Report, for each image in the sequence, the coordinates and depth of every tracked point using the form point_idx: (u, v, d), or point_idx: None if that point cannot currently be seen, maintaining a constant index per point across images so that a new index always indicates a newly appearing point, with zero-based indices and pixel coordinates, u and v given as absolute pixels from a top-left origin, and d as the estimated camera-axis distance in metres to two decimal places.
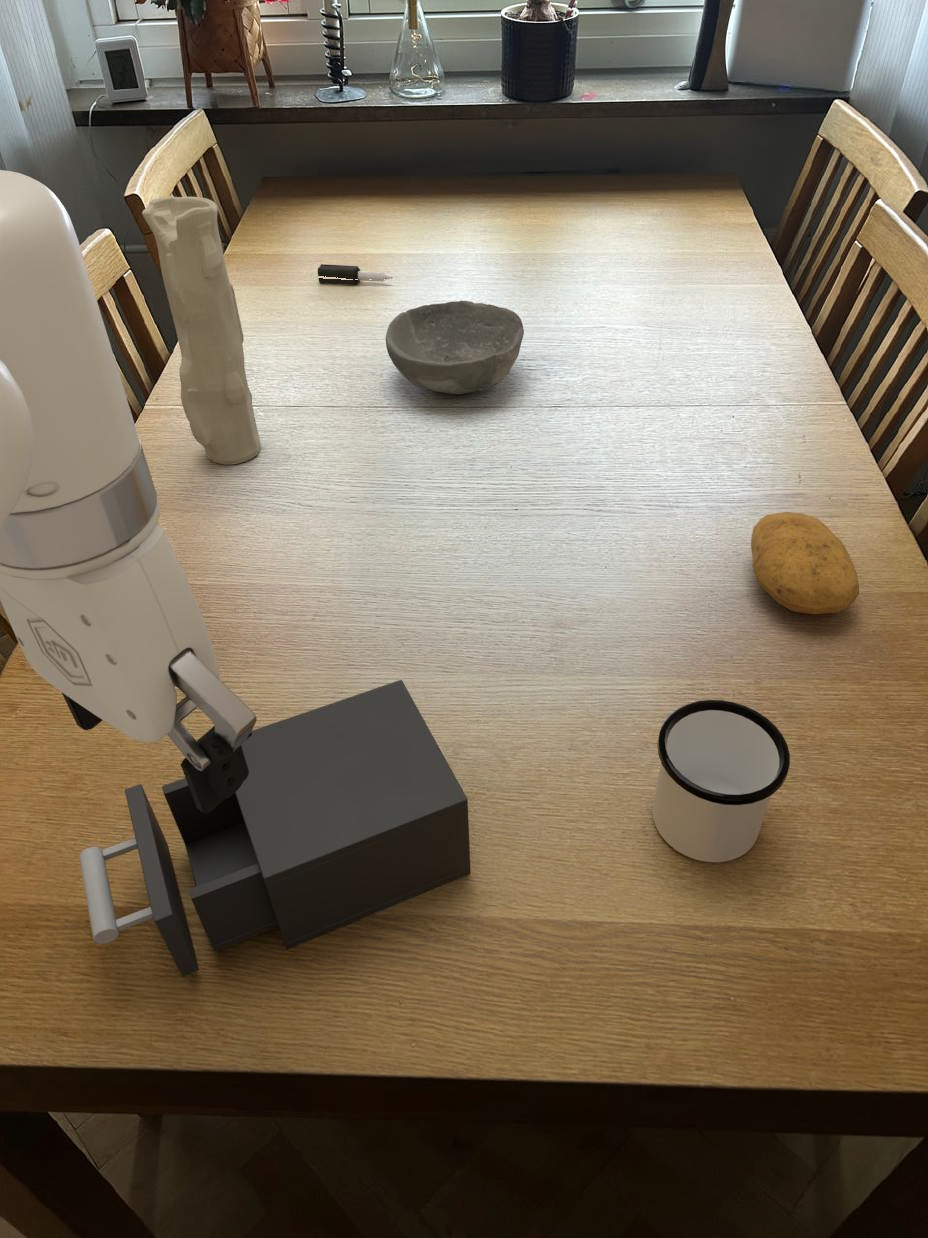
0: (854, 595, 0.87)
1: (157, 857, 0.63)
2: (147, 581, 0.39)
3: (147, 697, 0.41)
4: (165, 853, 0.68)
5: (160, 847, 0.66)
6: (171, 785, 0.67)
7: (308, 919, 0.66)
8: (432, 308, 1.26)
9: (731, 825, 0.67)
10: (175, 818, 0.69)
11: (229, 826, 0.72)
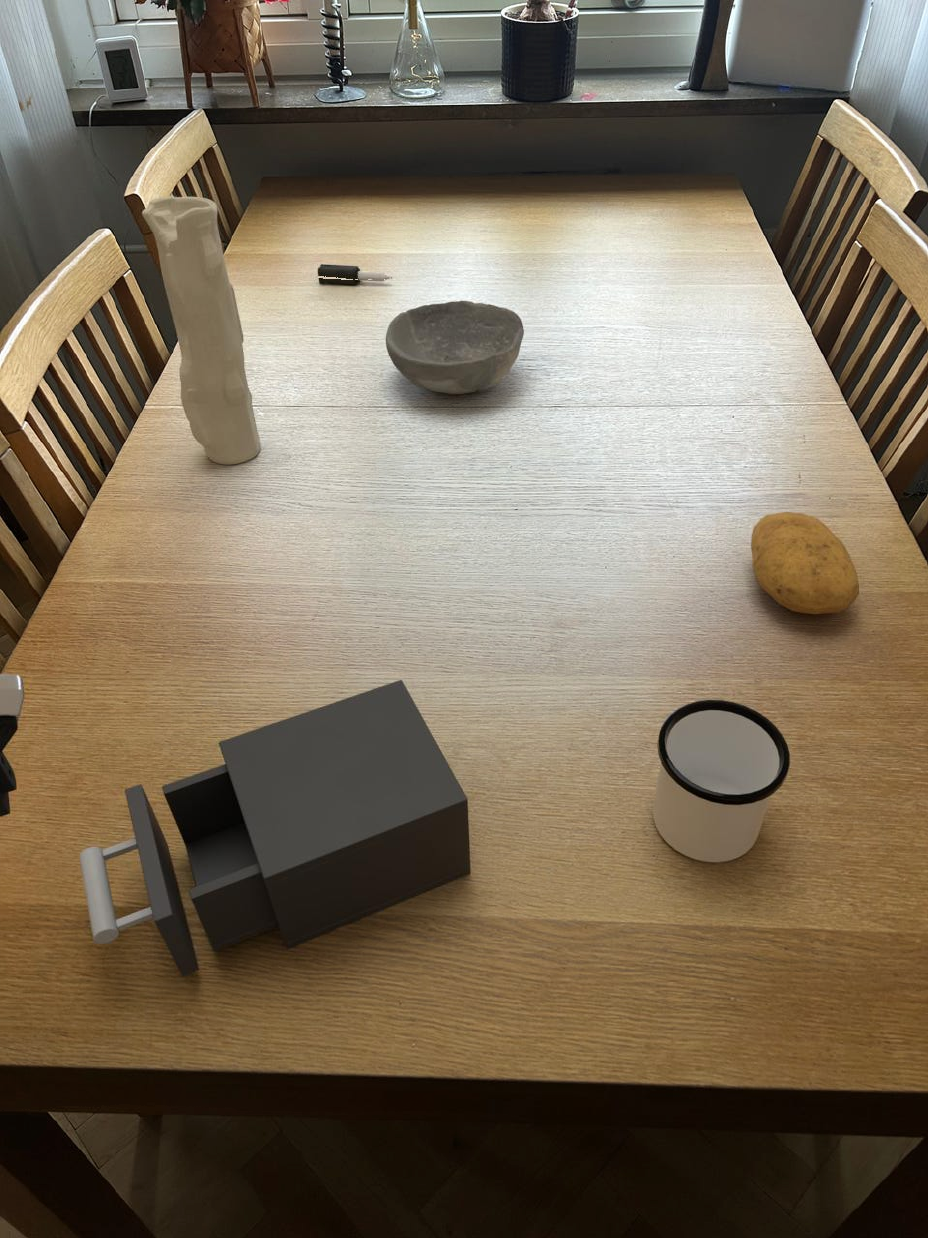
0: (854, 595, 0.87)
1: (157, 857, 0.63)
2: None
3: None
4: (165, 853, 0.68)
5: (160, 847, 0.66)
6: (171, 785, 0.67)
7: (308, 919, 0.66)
8: (432, 308, 1.26)
9: (731, 825, 0.67)
10: (175, 818, 0.69)
11: (229, 826, 0.72)
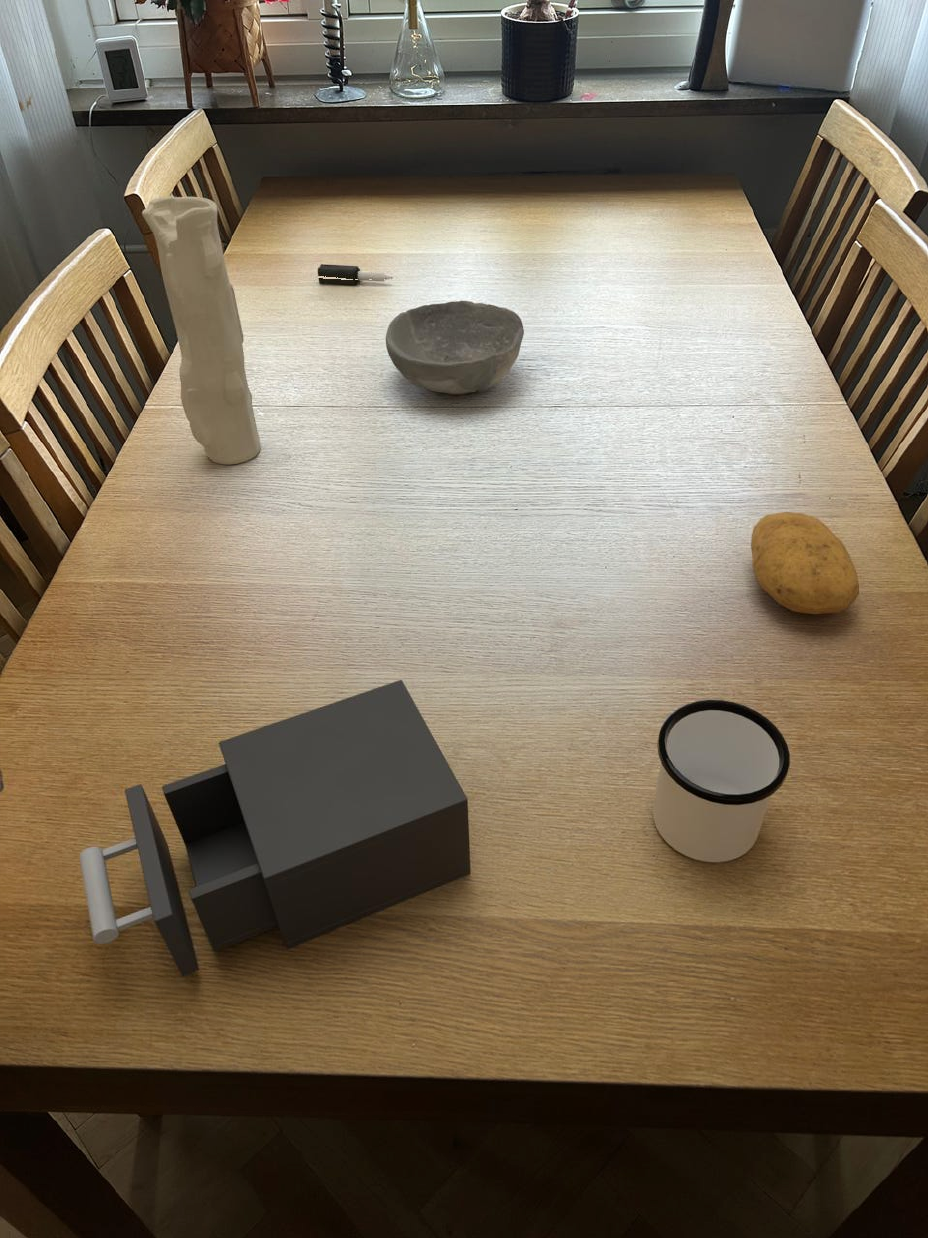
0: (854, 595, 0.87)
1: (157, 857, 0.63)
2: None
3: None
4: (165, 853, 0.68)
5: (160, 847, 0.66)
6: (171, 785, 0.67)
7: (308, 919, 0.66)
8: (432, 308, 1.26)
9: (731, 825, 0.67)
10: (175, 818, 0.69)
11: (229, 826, 0.72)
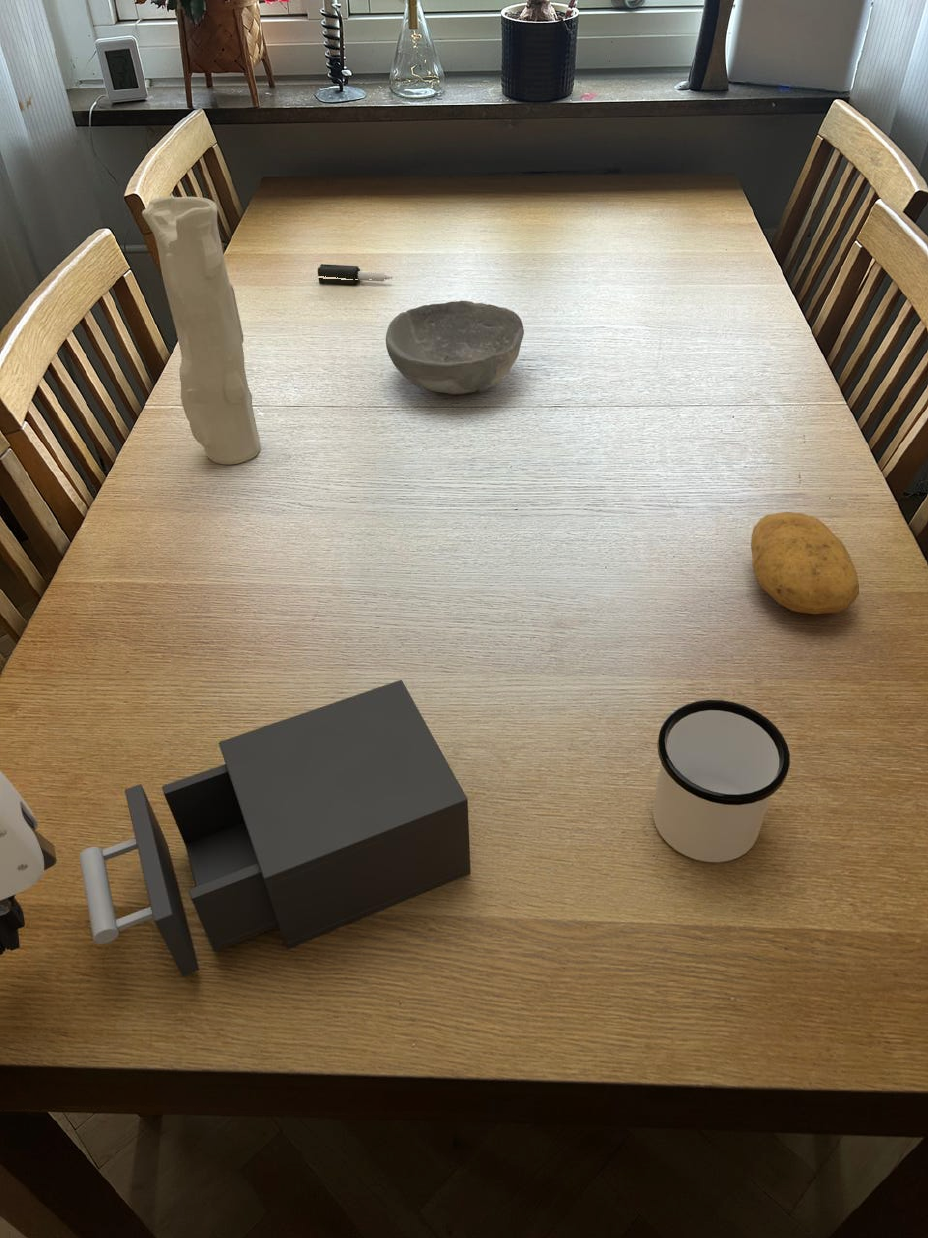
0: (854, 595, 0.87)
1: (157, 857, 0.63)
2: None
3: (29, 843, 0.56)
4: (165, 853, 0.68)
5: (160, 847, 0.66)
6: (171, 785, 0.67)
7: (308, 919, 0.66)
8: (432, 308, 1.26)
9: (731, 825, 0.67)
10: (175, 818, 0.69)
11: (229, 826, 0.72)
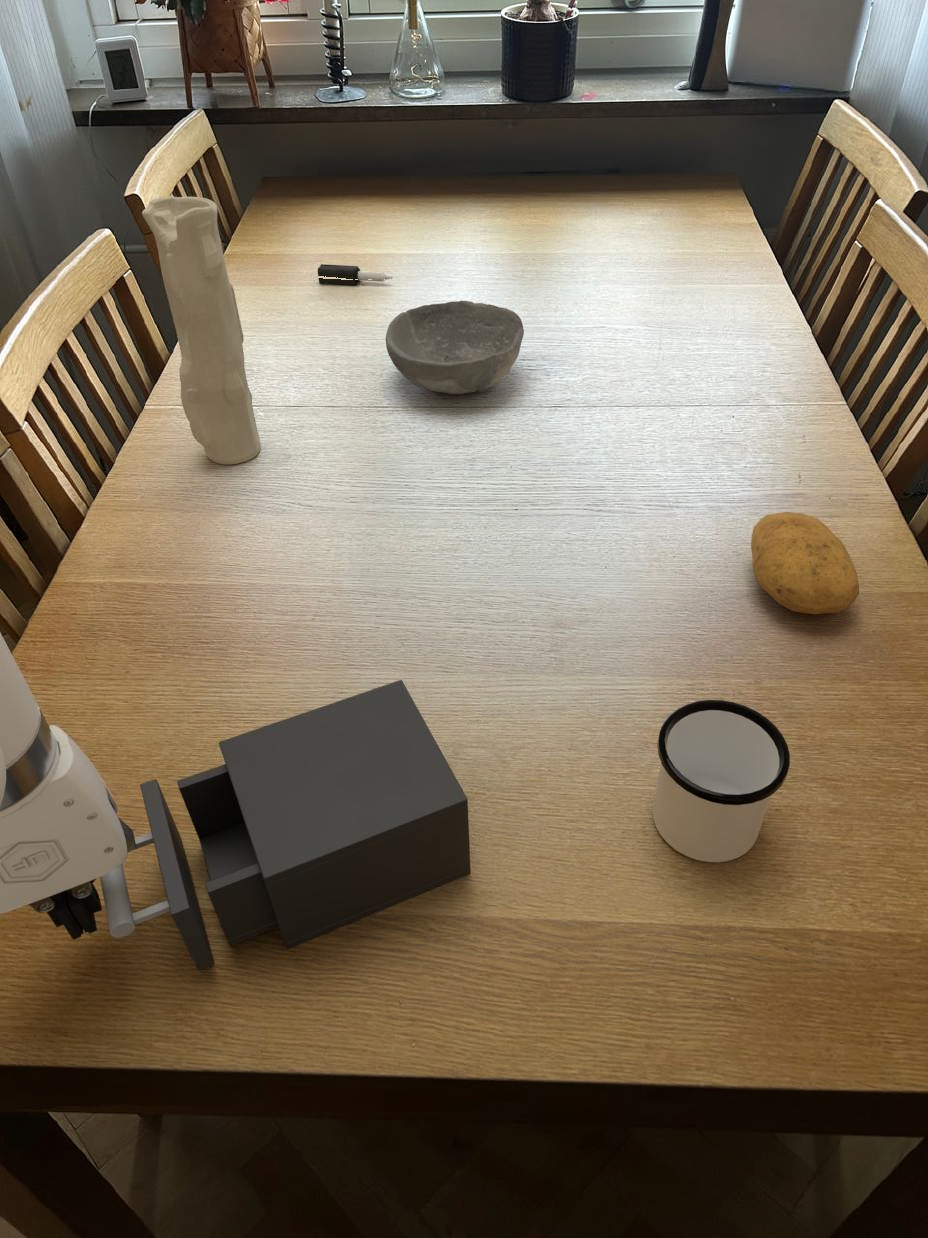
0: (854, 595, 0.87)
1: (173, 851, 0.63)
2: (79, 754, 0.55)
3: (115, 827, 0.58)
4: (180, 848, 0.69)
5: (175, 841, 0.66)
6: (186, 780, 0.68)
7: (308, 919, 0.66)
8: (432, 308, 1.26)
9: (731, 825, 0.67)
10: (190, 813, 0.69)
11: (243, 821, 0.72)
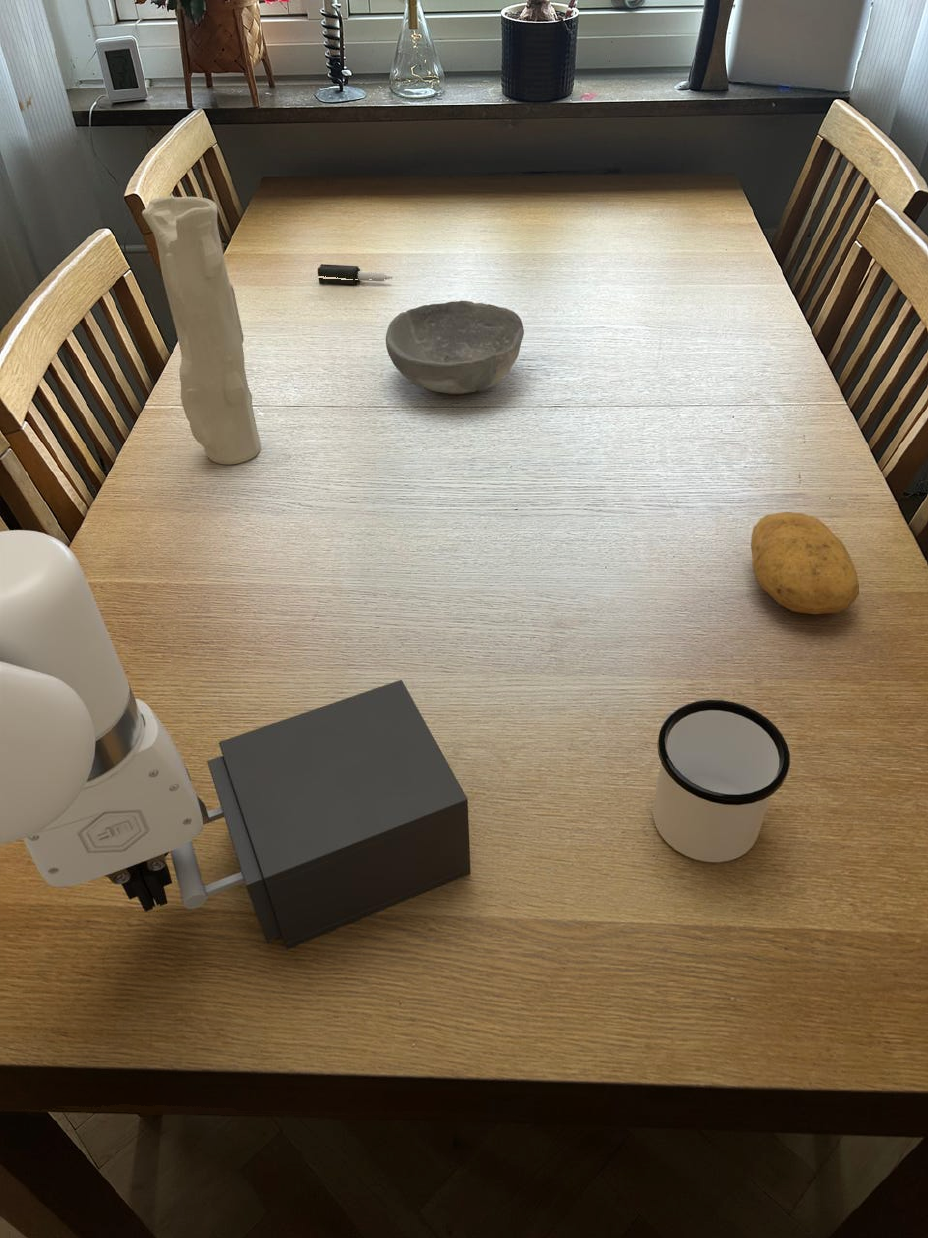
0: (854, 595, 0.87)
1: (244, 825, 0.64)
2: (162, 727, 0.57)
3: (194, 799, 0.59)
4: None
5: None
6: None
7: (308, 919, 0.66)
8: (432, 308, 1.26)
9: (731, 825, 0.67)
10: None
11: None
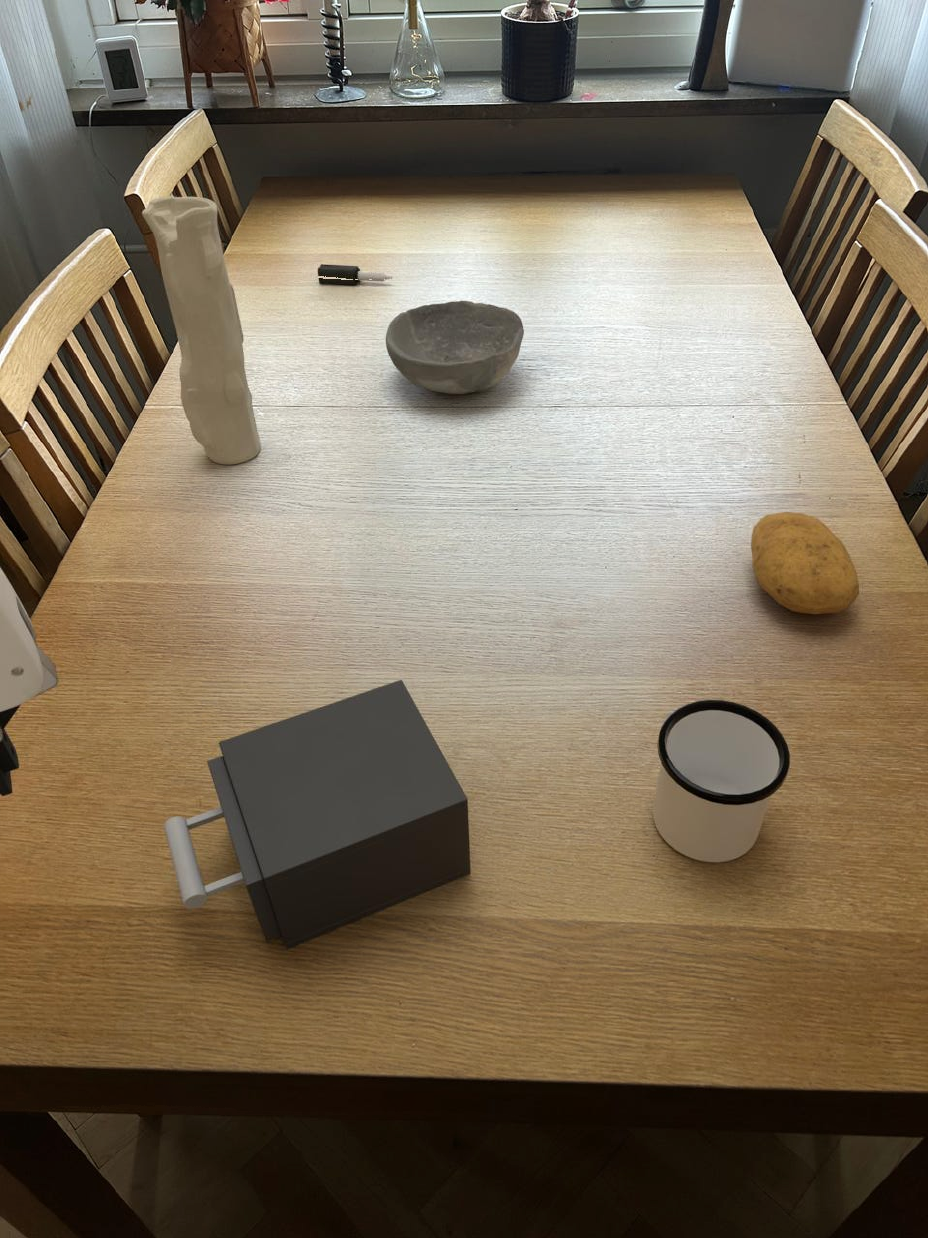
0: (854, 595, 0.87)
1: (244, 825, 0.64)
2: None
3: (25, 642, 0.46)
4: None
5: None
6: None
7: (308, 919, 0.66)
8: (432, 308, 1.26)
9: (731, 825, 0.67)
10: None
11: None
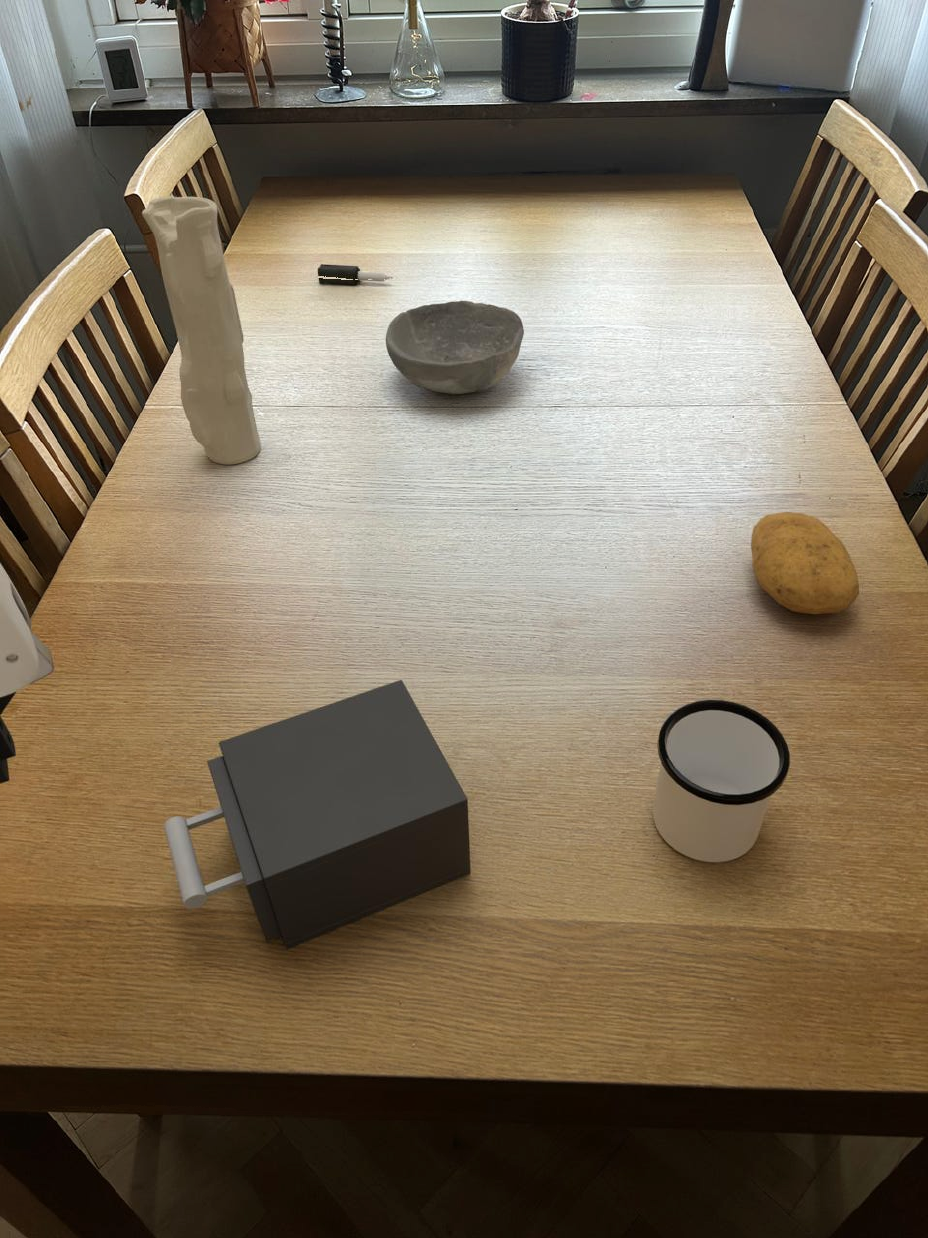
0: (854, 595, 0.87)
1: (244, 825, 0.64)
2: None
3: (20, 628, 0.46)
4: None
5: None
6: None
7: (308, 919, 0.66)
8: (432, 308, 1.26)
9: (731, 825, 0.67)
10: None
11: None
